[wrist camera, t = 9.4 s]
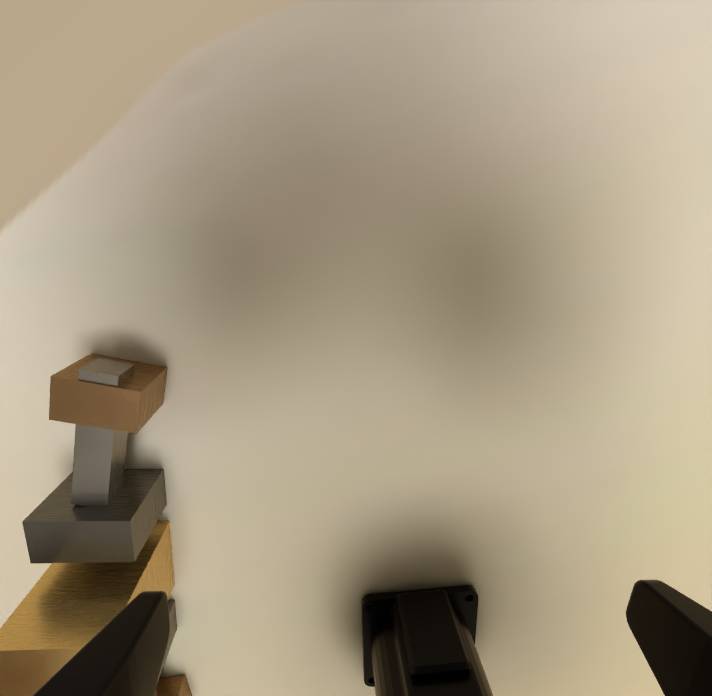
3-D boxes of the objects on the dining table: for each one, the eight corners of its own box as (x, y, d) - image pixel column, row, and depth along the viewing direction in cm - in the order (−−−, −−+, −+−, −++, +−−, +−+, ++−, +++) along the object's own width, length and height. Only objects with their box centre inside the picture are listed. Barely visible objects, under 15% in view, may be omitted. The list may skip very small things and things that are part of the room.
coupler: (169, 520, 21) (104, 647, 14) (174, 584, 22) (116, 726, 16) (85, 521, 20) (-18, 651, 14) (95, 585, 21) (2, 732, 15)
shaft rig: (56, 346, 18) (-8, 376, 14) (165, 350, 18) (129, 379, 15) (112, 710, 24) (76, 791, 20) (192, 706, 24) (171, 785, 21)
